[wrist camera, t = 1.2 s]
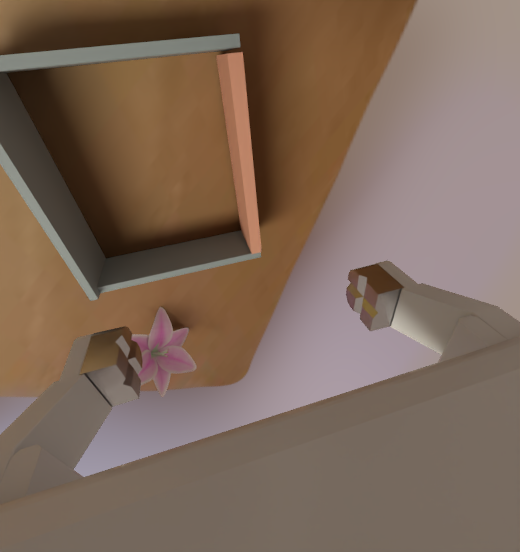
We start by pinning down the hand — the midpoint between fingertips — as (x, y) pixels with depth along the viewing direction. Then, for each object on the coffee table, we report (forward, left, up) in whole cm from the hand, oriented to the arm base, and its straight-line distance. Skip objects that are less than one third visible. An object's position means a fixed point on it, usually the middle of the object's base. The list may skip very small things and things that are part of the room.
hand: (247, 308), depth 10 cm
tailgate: (+2, +4, -25) cm, 26 cm away
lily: (+27, -11, -26) cm, 39 cm away
